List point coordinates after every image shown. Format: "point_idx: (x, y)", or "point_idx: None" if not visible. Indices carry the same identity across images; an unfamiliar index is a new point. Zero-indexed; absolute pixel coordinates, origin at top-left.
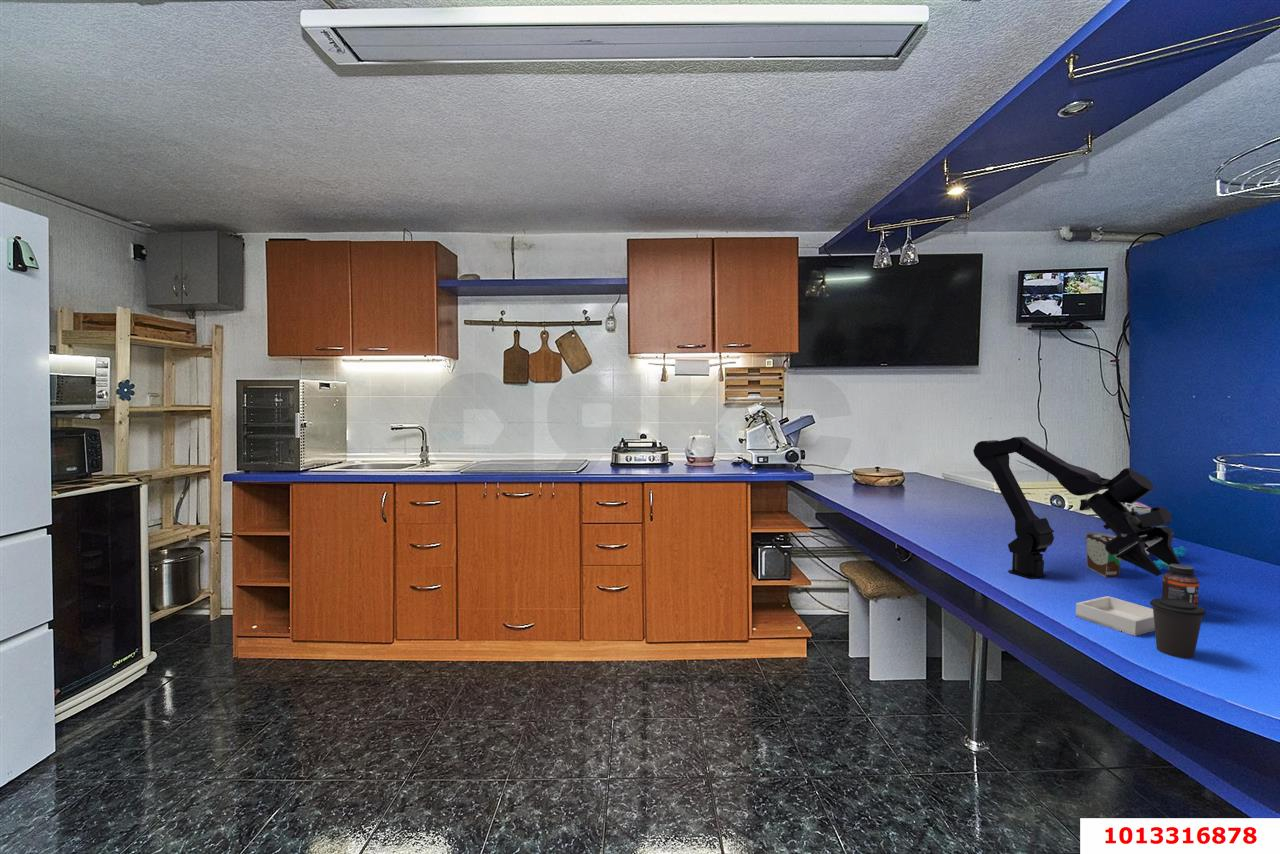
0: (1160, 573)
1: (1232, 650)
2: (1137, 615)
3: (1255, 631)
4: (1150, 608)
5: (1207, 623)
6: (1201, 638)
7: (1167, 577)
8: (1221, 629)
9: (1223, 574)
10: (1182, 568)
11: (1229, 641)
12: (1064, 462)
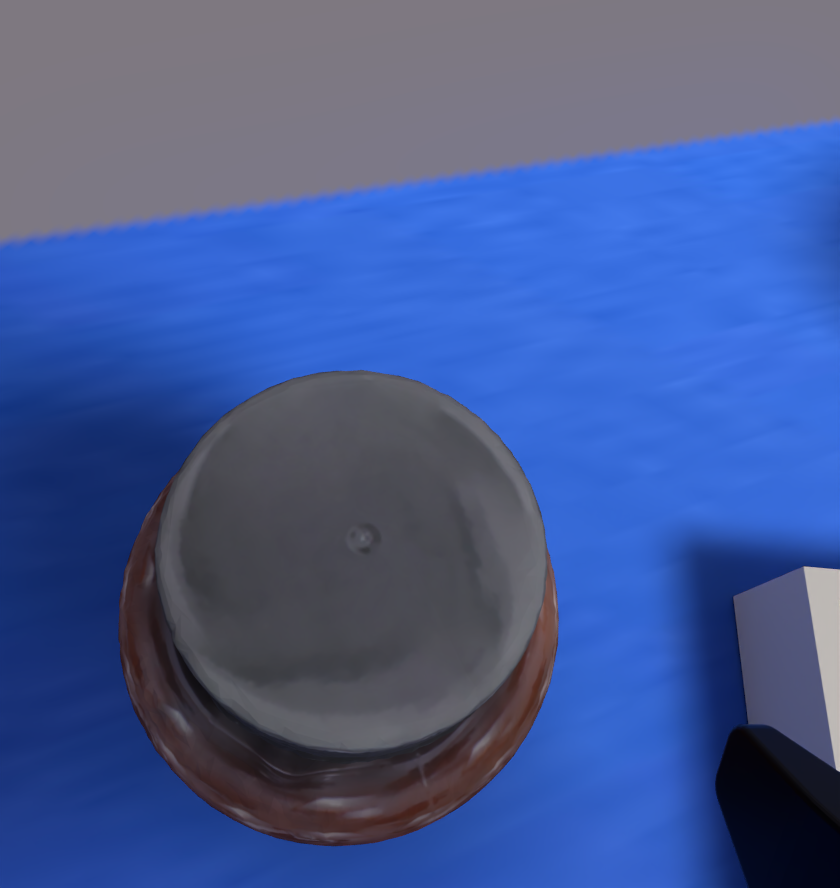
0: (765, 731)
1: (739, 257)
2: None
3: (225, 266)
4: (833, 707)
5: None
6: (715, 399)
7: (537, 709)
8: None
9: None
10: (516, 471)
11: (601, 301)
12: None
